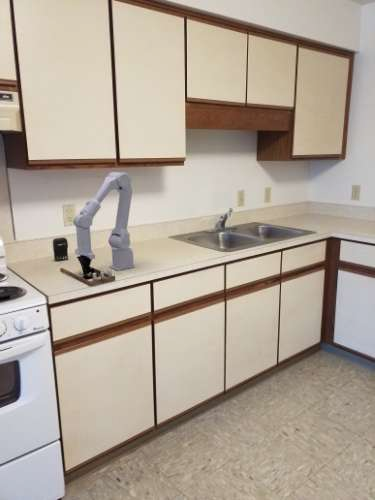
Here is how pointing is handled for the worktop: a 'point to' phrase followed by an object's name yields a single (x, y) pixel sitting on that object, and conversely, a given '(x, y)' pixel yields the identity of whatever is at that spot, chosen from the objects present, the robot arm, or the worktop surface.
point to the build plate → (87, 271)
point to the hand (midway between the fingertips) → (85, 271)
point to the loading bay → (95, 280)
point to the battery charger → (60, 249)
